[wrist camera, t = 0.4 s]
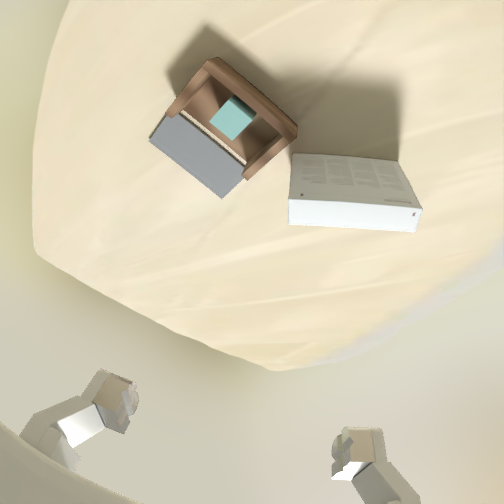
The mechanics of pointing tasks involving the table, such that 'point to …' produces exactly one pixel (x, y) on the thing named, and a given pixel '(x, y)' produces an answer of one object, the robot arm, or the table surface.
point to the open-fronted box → (268, 114)
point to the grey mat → (198, 154)
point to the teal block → (233, 117)
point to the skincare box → (351, 193)
